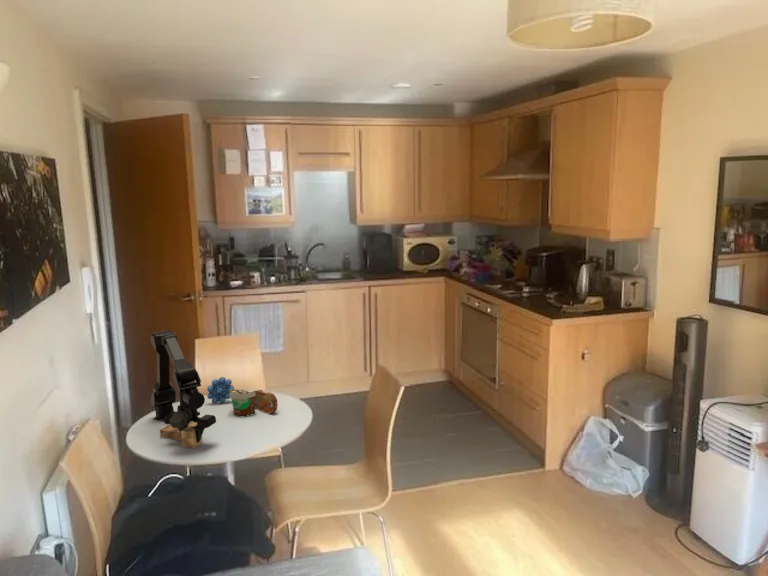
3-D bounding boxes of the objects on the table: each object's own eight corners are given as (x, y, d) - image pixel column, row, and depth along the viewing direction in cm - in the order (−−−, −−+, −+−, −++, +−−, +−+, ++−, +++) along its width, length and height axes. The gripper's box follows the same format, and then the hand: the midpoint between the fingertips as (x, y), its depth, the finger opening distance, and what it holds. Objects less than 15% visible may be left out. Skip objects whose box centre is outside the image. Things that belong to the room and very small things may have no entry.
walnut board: (160, 437, 219) (159, 430, 219) (184, 422, 232) (183, 415, 232) (187, 440, 215) (186, 433, 215) (209, 425, 228) (209, 418, 228)
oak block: (182, 446, 211) (180, 430, 210) (191, 440, 215) (189, 425, 214) (194, 447, 209) (192, 432, 208) (202, 441, 214) (200, 426, 213)
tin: (251, 408, 245) (250, 389, 244) (257, 405, 248) (256, 386, 246) (273, 416, 235) (271, 396, 234) (279, 413, 237) (278, 394, 236)
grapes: (236, 398, 257) (234, 372, 255) (234, 404, 250) (232, 377, 248) (209, 401, 256) (207, 375, 253) (207, 406, 249) (204, 380, 247)
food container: (224, 415, 239) (222, 392, 237) (234, 409, 244) (232, 387, 242) (247, 419, 233) (245, 395, 231) (257, 413, 238) (255, 390, 236)
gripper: (151, 407, 205) (156, 448, 207) (195, 411, 199) (200, 454, 201) (172, 396, 215) (176, 435, 218) (214, 400, 209) (219, 440, 212)
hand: (192, 441), depth 212 cm, fingers closed on oak block, 5 cm apart
